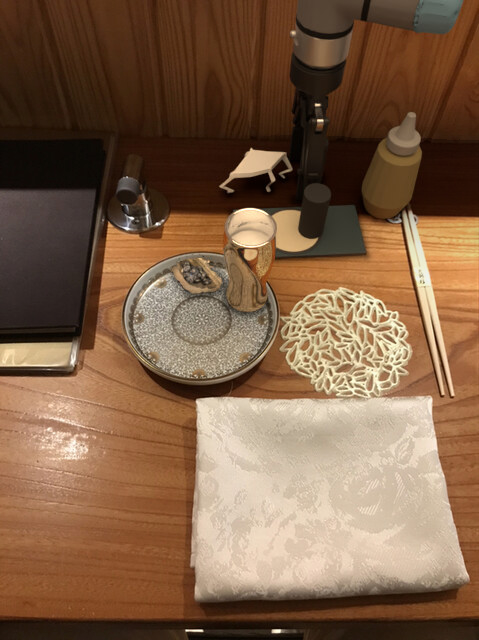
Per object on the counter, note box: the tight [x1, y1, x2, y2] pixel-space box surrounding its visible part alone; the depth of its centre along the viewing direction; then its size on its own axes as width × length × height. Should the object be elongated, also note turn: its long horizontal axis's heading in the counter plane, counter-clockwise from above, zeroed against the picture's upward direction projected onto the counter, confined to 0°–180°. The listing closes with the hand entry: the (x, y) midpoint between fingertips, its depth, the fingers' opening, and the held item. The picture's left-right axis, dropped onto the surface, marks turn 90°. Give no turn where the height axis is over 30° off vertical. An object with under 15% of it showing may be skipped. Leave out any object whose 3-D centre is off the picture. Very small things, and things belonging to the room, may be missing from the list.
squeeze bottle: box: [360, 111, 423, 220], centre depth 85 cm, size 8×8×18 cm
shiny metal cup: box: [222, 207, 277, 313], centre depth 76 cm, size 7×7×15 cm
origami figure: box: [219, 147, 293, 194], centre depth 93 cm, size 12×8×5 cm
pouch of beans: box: [170, 257, 223, 295], centre depth 84 cm, size 7×8×2 cm
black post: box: [297, 136, 330, 184], centre depth 92 cm, size 4×4×8 cm
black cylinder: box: [298, 183, 332, 239], centre depth 85 cm, size 4×4×8 cm
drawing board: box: [232, 204, 367, 260], centre depth 89 cm, size 20×10×1 cm, turn 94°
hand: (300, 177), depth 95 cm, fingers open, 9 cm apart
